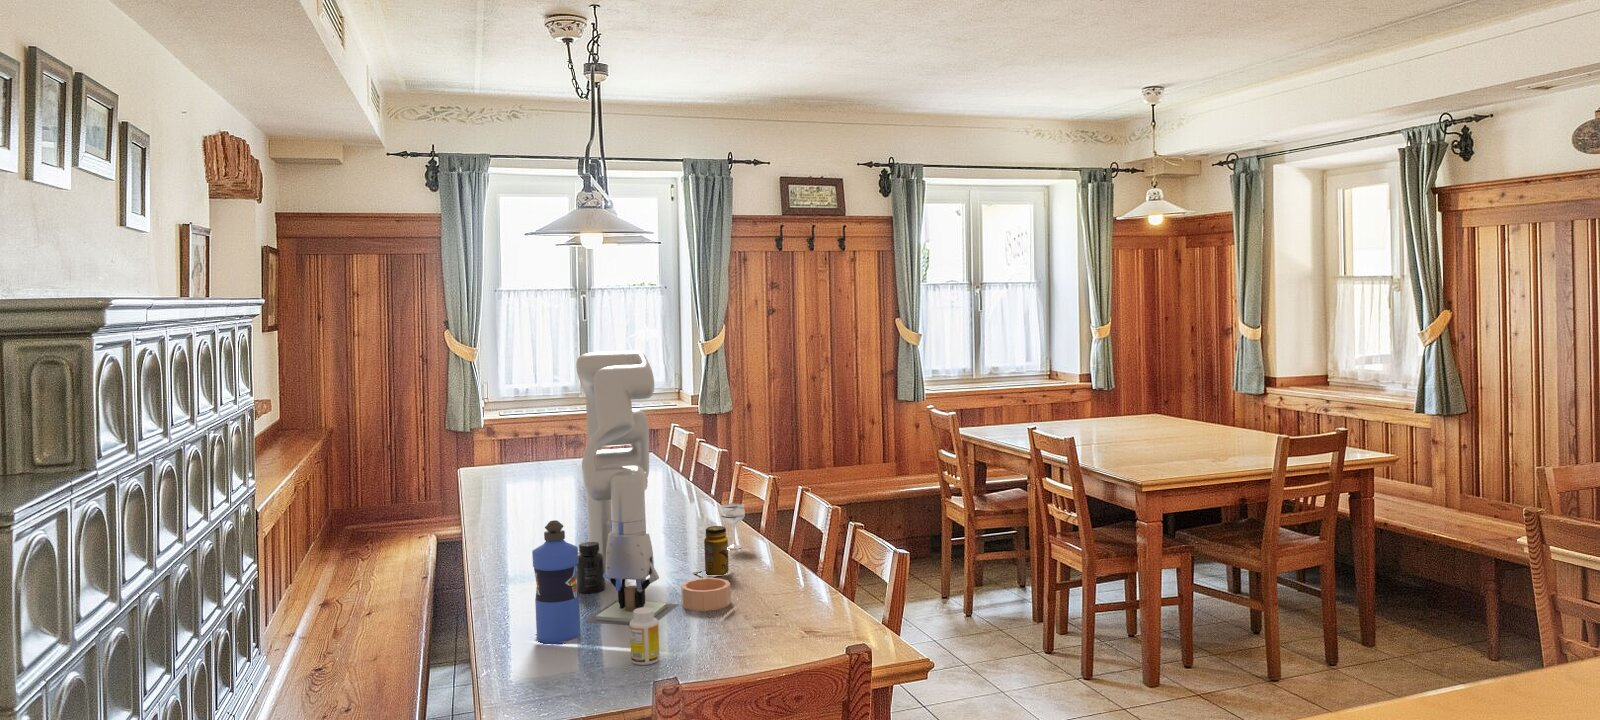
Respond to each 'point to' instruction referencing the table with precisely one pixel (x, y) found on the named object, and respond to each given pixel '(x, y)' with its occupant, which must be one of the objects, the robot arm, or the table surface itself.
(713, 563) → the condiment
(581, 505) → the table surface
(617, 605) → the lid
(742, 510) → the wineglass
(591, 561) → the supplement bottle
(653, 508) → the table surface
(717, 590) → the bowl
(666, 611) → the mat
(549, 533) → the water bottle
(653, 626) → the supplement bottle
